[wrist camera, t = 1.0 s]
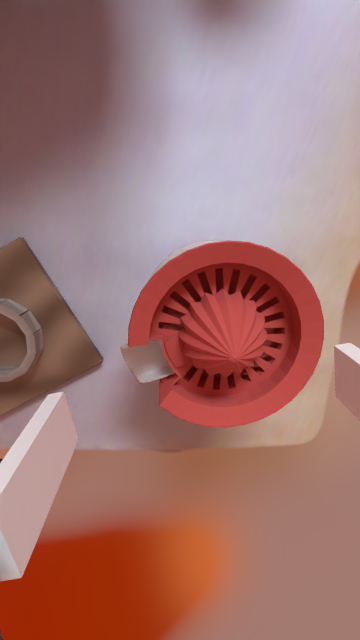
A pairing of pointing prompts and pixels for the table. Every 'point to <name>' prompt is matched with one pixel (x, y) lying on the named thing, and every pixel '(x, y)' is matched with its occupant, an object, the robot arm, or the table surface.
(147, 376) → the citrus juicer
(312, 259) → the table surface
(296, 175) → the table surface
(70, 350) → the can holder
